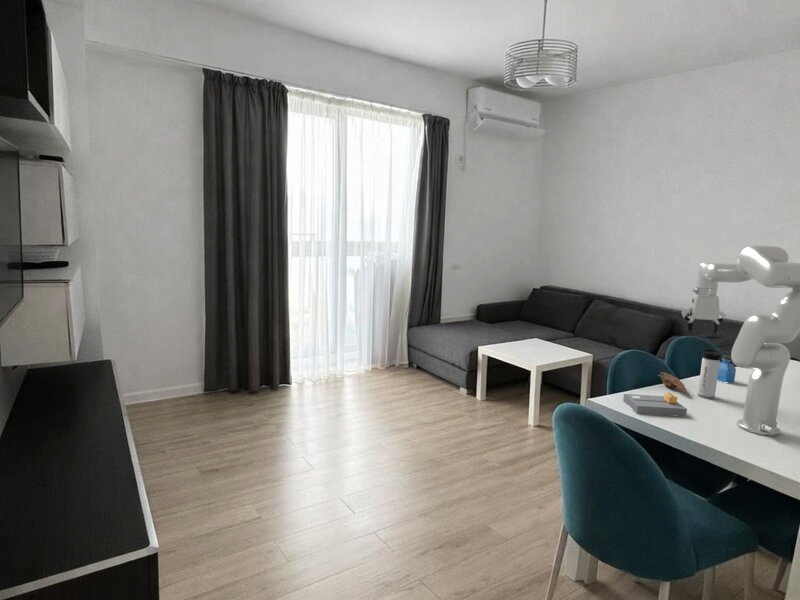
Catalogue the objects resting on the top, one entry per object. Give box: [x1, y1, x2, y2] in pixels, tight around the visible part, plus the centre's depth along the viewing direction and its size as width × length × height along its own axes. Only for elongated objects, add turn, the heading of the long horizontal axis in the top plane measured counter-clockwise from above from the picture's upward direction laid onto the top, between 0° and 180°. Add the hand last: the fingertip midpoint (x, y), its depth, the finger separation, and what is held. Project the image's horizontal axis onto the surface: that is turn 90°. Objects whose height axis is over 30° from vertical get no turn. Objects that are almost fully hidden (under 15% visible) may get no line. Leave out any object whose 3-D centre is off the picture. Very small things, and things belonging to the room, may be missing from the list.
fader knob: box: [664, 392, 678, 403], centre depth 195 cm, size 4×3×3 cm
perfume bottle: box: [717, 354, 737, 383], centre depth 239 cm, size 6×6×12 cm
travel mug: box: [697, 348, 721, 400], centre depth 213 cm, size 6×7×20 cm
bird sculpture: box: [657, 371, 688, 393], centre depth 223 cm, size 7×25×5 cm, turn 178°
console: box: [622, 393, 688, 417], centre depth 196 cm, size 14×18×3 cm
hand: (701, 332), depth 212 cm, fingers open, 9 cm apart
